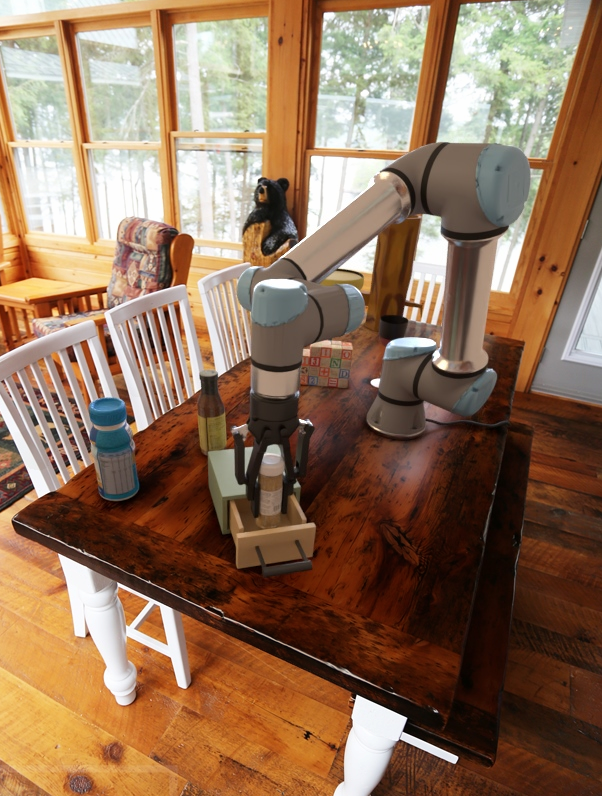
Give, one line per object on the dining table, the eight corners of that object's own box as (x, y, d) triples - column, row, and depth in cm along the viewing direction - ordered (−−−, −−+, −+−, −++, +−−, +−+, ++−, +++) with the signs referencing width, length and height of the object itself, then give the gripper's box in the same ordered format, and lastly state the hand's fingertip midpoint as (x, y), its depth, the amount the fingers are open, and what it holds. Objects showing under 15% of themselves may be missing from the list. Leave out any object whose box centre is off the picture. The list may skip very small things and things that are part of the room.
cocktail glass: (358, 356, 175) (368, 281, 162) (305, 354, 175) (312, 279, 162) (351, 338, 190) (360, 269, 177) (303, 337, 190) (308, 267, 177)
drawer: (326, 584, 84) (330, 554, 80) (246, 598, 81) (247, 567, 77) (288, 507, 101) (290, 478, 98) (221, 516, 98) (221, 487, 95)
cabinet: (297, 523, 99) (300, 487, 94) (222, 534, 95) (222, 497, 90) (275, 478, 111) (277, 444, 107) (208, 486, 108) (207, 451, 103)
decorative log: (360, 209, 192) (442, 216, 185) (347, 316, 214) (419, 325, 207) (354, 214, 180) (441, 221, 173) (340, 326, 203) (417, 336, 195)
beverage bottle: (119, 508, 101) (105, 419, 90) (89, 493, 105) (73, 406, 94) (148, 487, 107) (139, 402, 96) (119, 474, 111) (107, 390, 100)
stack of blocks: (277, 383, 154) (279, 344, 147) (278, 375, 159) (280, 337, 153) (347, 388, 153) (353, 349, 146) (346, 380, 158) (352, 341, 151)
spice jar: (271, 511, 93) (274, 449, 86) (285, 525, 90) (290, 462, 83) (250, 520, 91) (251, 456, 84) (264, 534, 88) (267, 469, 80)
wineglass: (367, 386, 154) (377, 321, 143) (373, 376, 161) (383, 313, 150) (393, 391, 152) (405, 325, 141) (398, 380, 159) (410, 317, 148)
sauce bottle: (230, 447, 122) (230, 369, 111) (220, 460, 117) (219, 380, 106) (205, 442, 123) (203, 365, 113) (194, 454, 118) (190, 375, 108)
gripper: (320, 375, 81) (308, 492, 94) (213, 383, 77) (215, 504, 90) (338, 395, 75) (322, 517, 88) (222, 405, 71) (223, 531, 84)
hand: (268, 511), depth 89 cm, fingers closed on spice jar, 4 cm apart
